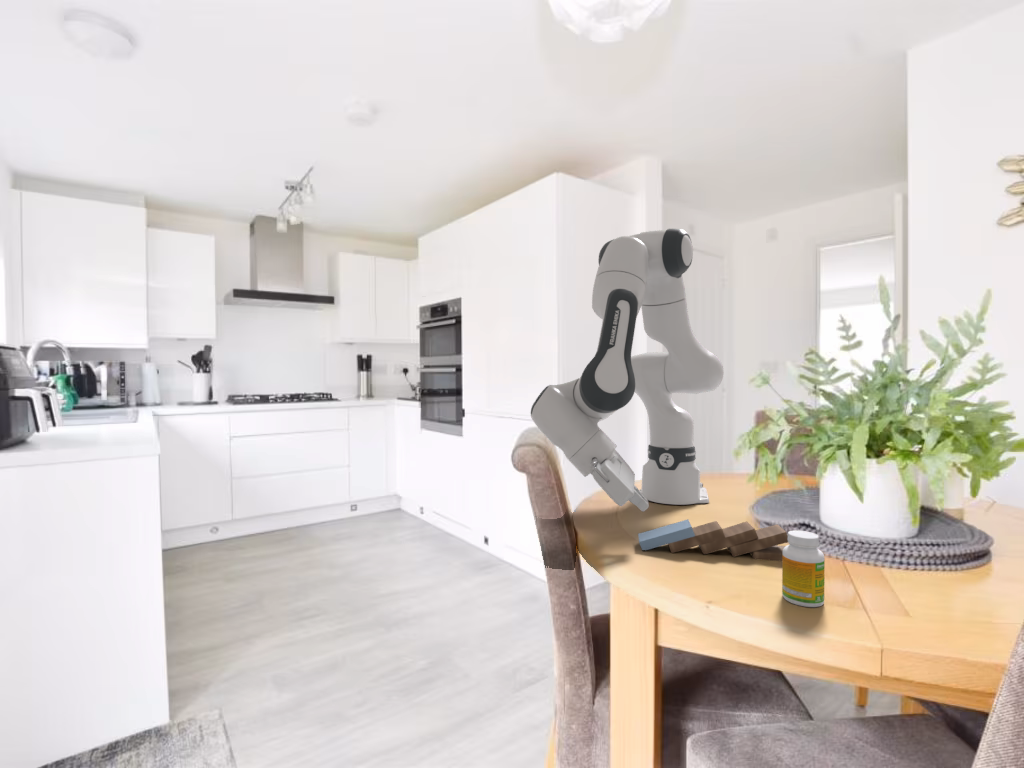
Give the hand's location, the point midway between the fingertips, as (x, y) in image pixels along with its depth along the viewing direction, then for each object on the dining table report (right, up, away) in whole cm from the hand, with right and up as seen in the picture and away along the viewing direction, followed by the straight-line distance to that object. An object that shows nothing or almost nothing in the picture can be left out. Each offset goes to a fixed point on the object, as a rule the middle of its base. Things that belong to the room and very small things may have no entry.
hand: (646, 507), depth 100 cm
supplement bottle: (+17, -8, -24) cm, 30 cm away
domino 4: (+14, -7, -3) cm, 16 cm away
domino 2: (+4, -7, -1) cm, 8 cm away
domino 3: (+9, -7, -2) cm, 12 cm away
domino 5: (+18, -7, -4) cm, 20 cm away
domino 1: (-1, -7, 0) cm, 7 cm away
